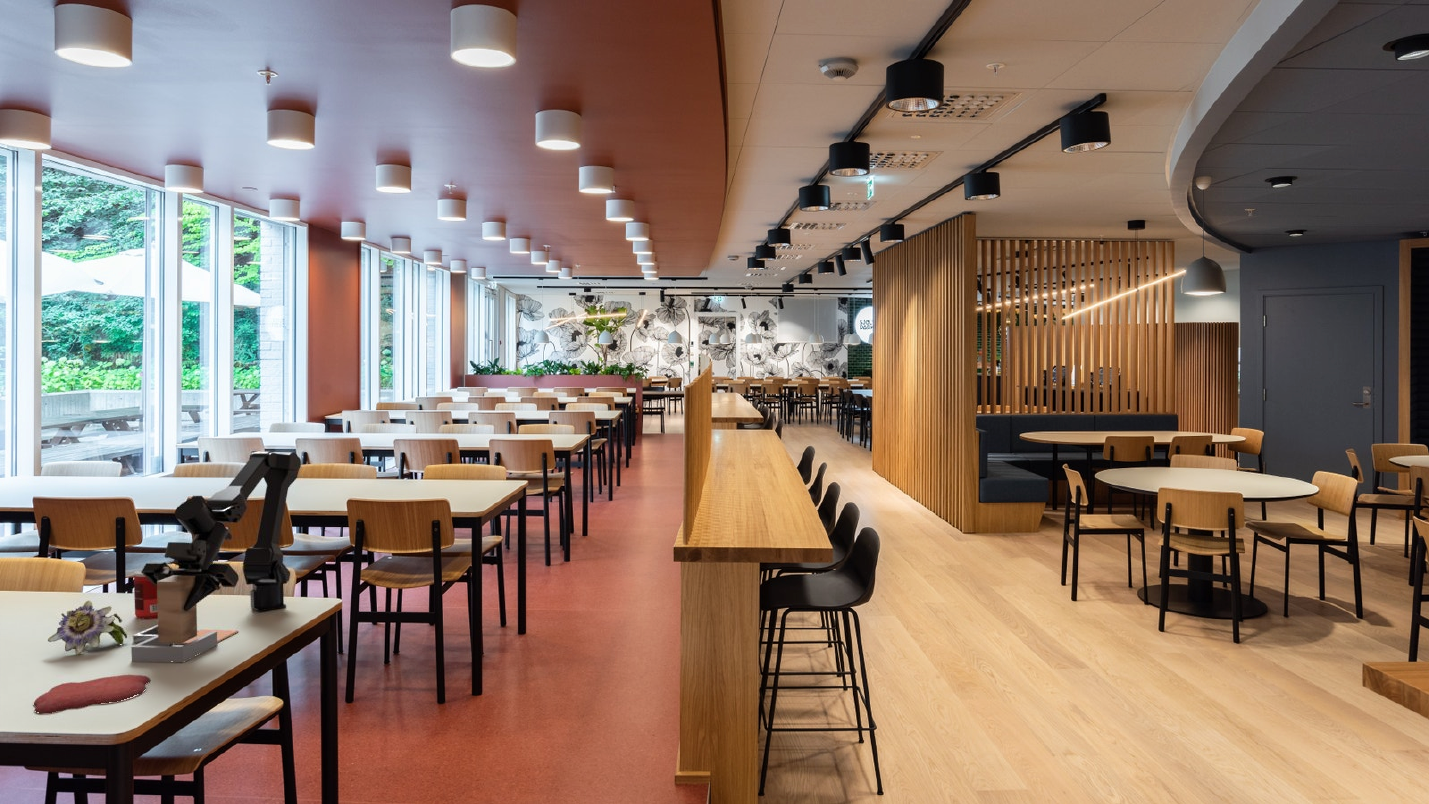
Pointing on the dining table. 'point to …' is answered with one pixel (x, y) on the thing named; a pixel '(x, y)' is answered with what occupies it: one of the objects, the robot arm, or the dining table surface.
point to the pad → (220, 633)
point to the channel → (171, 649)
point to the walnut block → (175, 610)
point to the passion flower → (87, 627)
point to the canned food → (145, 597)
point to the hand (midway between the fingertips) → (172, 609)
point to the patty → (90, 693)
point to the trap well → (146, 634)
